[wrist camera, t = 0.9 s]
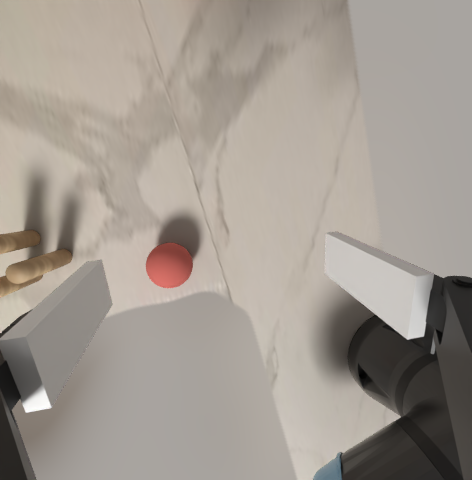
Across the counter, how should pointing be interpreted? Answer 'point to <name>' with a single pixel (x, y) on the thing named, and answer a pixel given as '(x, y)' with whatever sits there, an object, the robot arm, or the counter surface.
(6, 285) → the pin
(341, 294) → the counter surface
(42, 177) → the counter surface
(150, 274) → the ball
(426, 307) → the robot arm
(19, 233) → the pin
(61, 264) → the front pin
